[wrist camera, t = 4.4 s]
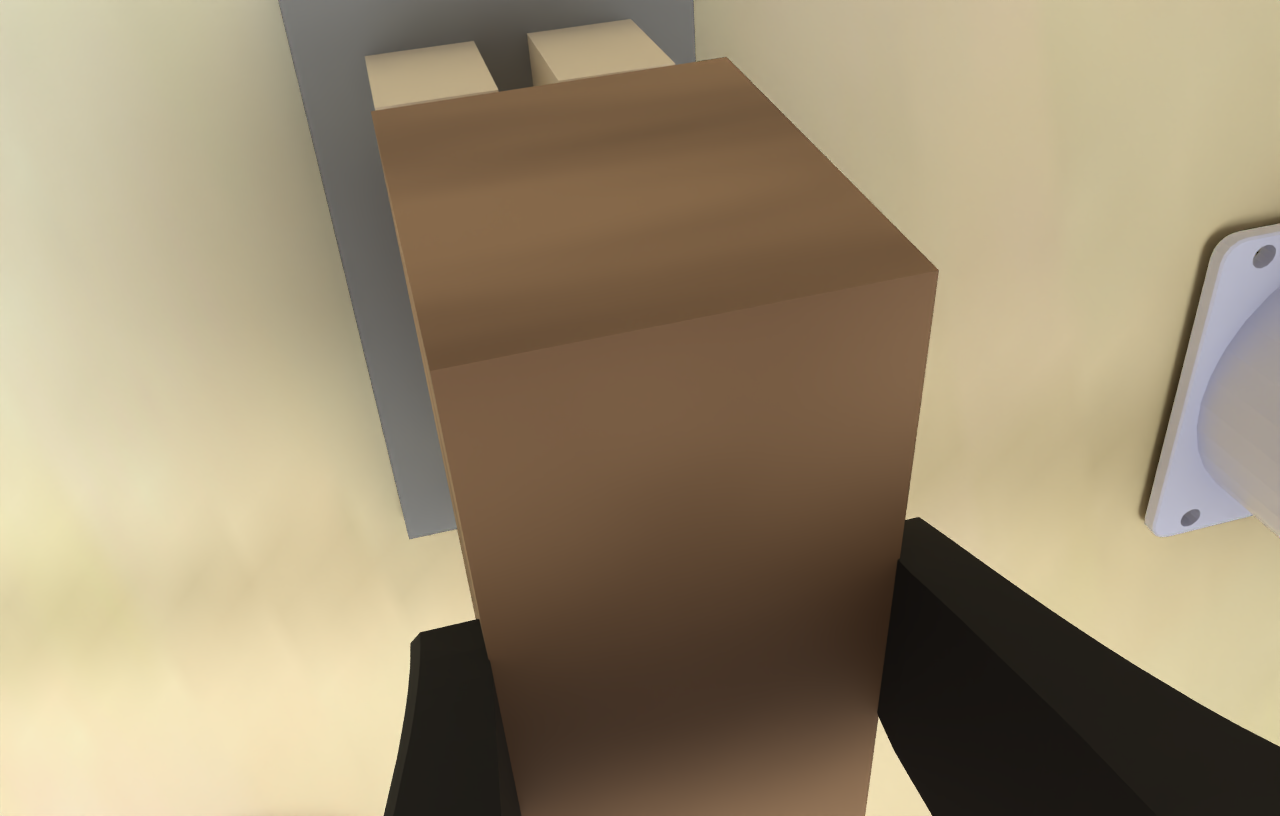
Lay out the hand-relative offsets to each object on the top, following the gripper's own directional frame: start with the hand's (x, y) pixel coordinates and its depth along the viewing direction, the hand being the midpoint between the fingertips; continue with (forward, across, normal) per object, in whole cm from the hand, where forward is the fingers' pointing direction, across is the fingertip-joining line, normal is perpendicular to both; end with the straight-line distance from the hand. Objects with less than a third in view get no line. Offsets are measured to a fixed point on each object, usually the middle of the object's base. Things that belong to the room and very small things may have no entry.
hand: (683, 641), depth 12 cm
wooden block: (+4, 0, 0) cm, 4 cm away
